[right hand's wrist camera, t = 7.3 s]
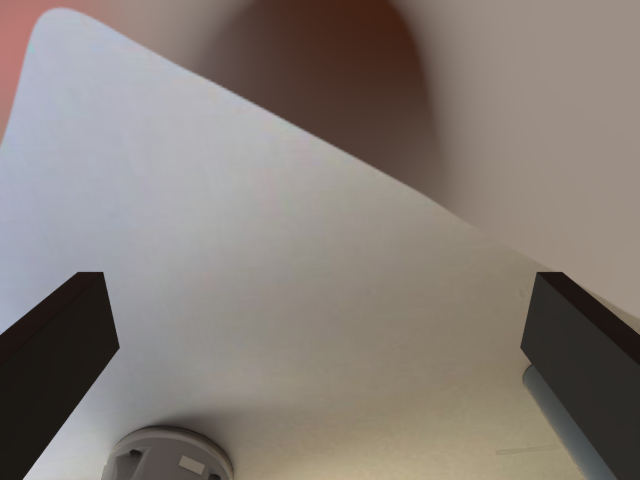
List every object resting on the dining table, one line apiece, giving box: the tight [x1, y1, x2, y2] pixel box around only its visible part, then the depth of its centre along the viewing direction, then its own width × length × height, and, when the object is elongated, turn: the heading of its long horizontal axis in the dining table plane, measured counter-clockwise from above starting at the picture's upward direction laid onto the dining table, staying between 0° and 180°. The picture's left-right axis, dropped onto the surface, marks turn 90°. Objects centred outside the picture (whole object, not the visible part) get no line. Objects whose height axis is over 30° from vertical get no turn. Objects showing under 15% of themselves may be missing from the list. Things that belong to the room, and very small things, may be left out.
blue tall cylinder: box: [523, 365, 617, 480], centre depth 38 cm, size 4×4×16 cm
